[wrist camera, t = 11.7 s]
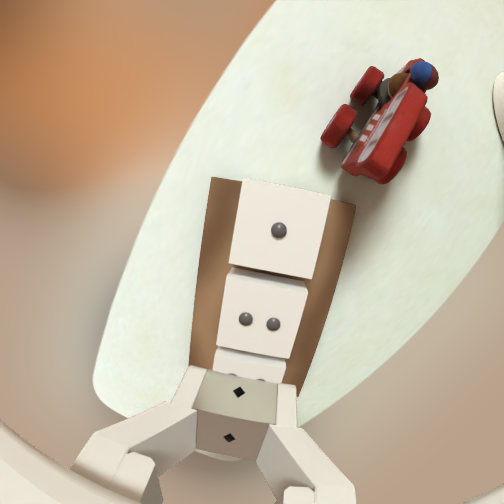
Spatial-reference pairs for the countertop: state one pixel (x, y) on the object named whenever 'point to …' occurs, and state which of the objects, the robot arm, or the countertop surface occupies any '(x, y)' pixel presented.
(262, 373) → the three-pip tile
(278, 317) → the two-pip tile
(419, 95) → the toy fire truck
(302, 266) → the one-pip tile
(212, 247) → the walnut board
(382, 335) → the countertop surface
